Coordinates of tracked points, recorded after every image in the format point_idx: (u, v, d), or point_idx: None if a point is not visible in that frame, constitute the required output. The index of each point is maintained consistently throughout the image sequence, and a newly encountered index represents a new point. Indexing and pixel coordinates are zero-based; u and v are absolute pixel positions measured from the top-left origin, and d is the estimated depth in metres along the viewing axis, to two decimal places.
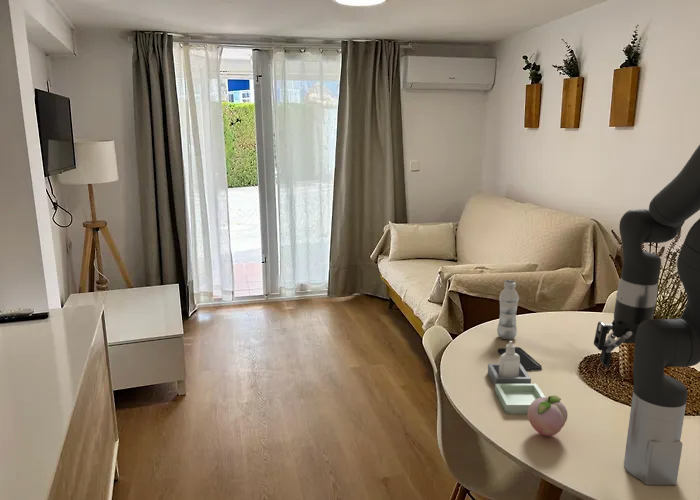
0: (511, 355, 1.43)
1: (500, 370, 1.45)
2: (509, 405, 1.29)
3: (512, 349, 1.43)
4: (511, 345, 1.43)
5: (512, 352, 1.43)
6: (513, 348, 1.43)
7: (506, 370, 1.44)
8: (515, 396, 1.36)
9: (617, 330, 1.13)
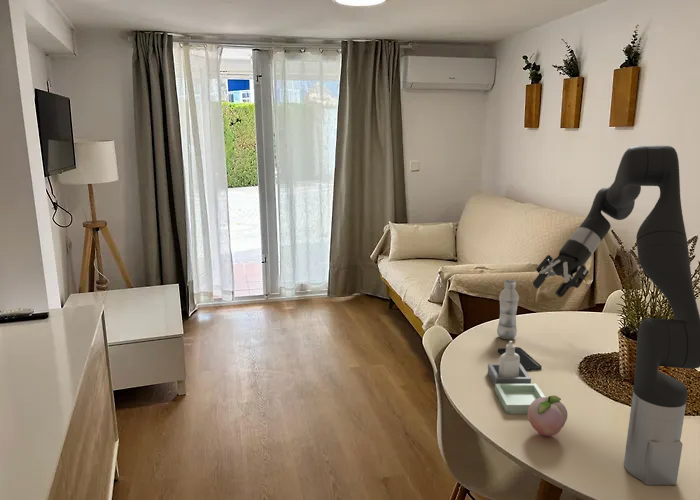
0: (511, 355, 1.43)
1: (500, 370, 1.45)
2: (509, 405, 1.29)
3: (512, 349, 1.43)
4: (511, 345, 1.43)
5: (512, 352, 1.43)
6: (513, 348, 1.43)
7: (506, 370, 1.44)
8: (515, 396, 1.36)
9: (554, 260, 1.49)
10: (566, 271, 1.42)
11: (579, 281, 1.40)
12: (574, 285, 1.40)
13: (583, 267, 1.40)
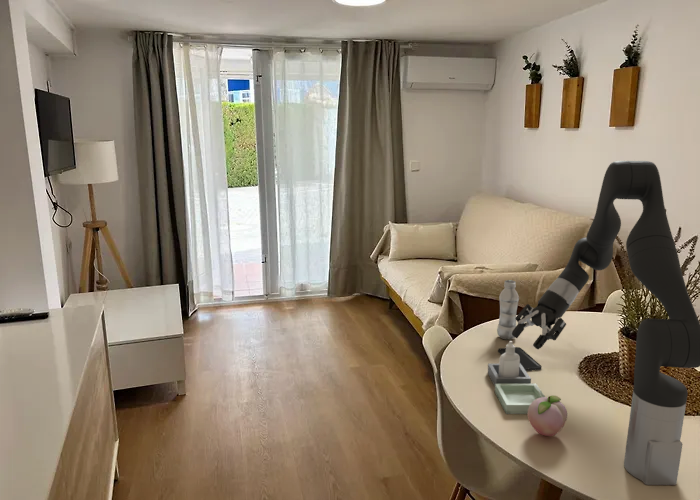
0: (511, 355, 1.43)
1: (500, 370, 1.45)
2: (509, 405, 1.29)
3: (512, 349, 1.43)
4: (511, 345, 1.43)
5: (512, 352, 1.43)
6: (513, 348, 1.43)
7: (506, 370, 1.44)
8: (515, 396, 1.36)
9: (533, 310, 1.50)
10: (544, 323, 1.43)
11: (556, 334, 1.41)
12: (551, 338, 1.41)
13: (560, 320, 1.41)
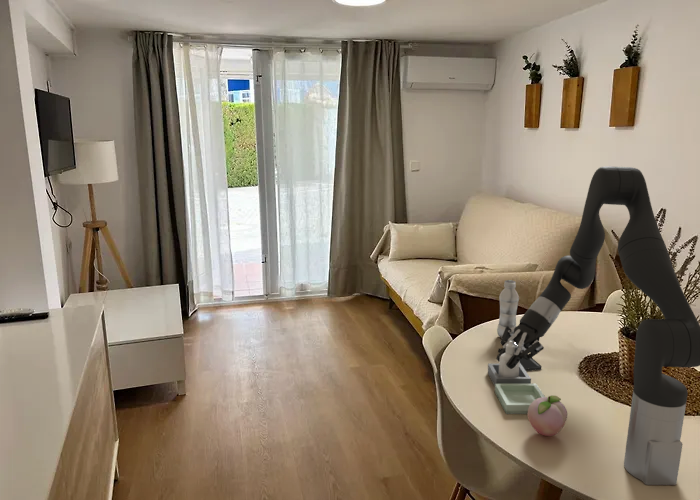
0: (511, 355, 1.43)
1: (500, 370, 1.45)
2: (509, 405, 1.29)
3: (512, 349, 1.43)
4: (511, 345, 1.43)
5: (512, 352, 1.43)
6: (513, 348, 1.43)
7: (505, 370, 1.44)
8: (515, 396, 1.36)
9: (515, 329, 1.48)
10: (521, 343, 1.43)
11: (530, 355, 1.41)
12: (524, 358, 1.41)
13: (537, 344, 1.39)
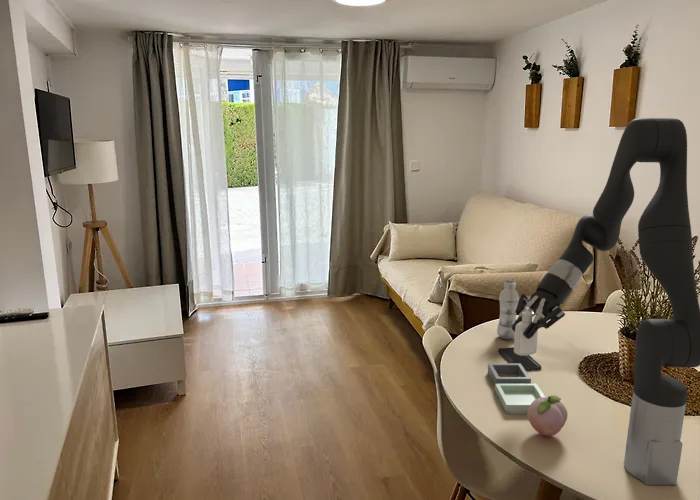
0: (528, 323, 1.29)
1: (516, 341, 1.30)
2: (509, 405, 1.29)
3: (529, 316, 1.29)
4: (528, 312, 1.29)
5: (529, 320, 1.29)
6: (530, 315, 1.29)
7: (522, 340, 1.29)
8: (515, 396, 1.36)
9: (532, 296, 1.34)
10: (539, 310, 1.28)
11: (550, 322, 1.26)
12: (543, 326, 1.26)
13: (558, 310, 1.25)
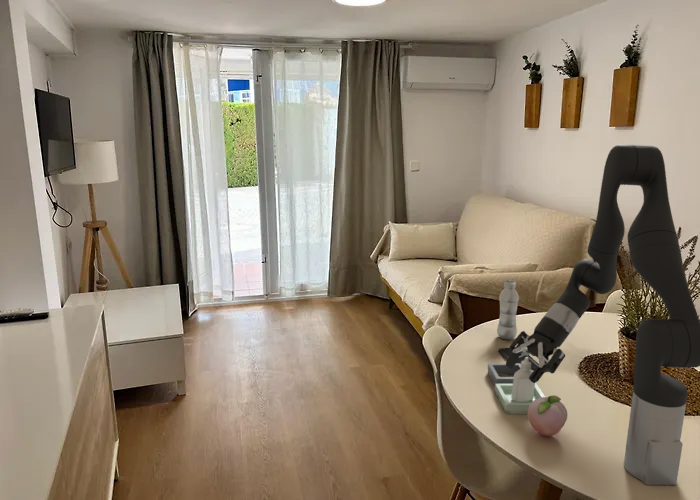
0: (527, 373, 1.31)
1: (514, 388, 1.33)
2: (509, 405, 1.29)
3: (528, 366, 1.31)
4: (527, 362, 1.31)
5: (528, 369, 1.31)
6: (529, 365, 1.31)
7: (520, 389, 1.32)
8: None
9: (529, 338, 1.36)
10: (541, 354, 1.30)
11: (555, 366, 1.27)
12: (549, 371, 1.27)
13: (559, 351, 1.27)
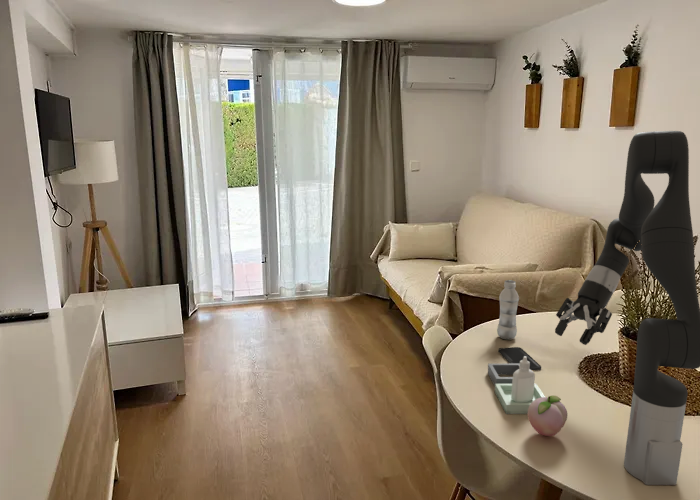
0: (525, 372, 1.32)
1: (513, 388, 1.33)
2: (509, 405, 1.29)
3: (527, 365, 1.31)
4: (525, 361, 1.32)
5: (527, 369, 1.31)
6: (528, 364, 1.31)
7: (520, 388, 1.32)
8: None
9: (574, 303, 1.39)
10: (587, 316, 1.33)
11: (603, 325, 1.30)
12: (598, 330, 1.30)
13: (605, 310, 1.30)
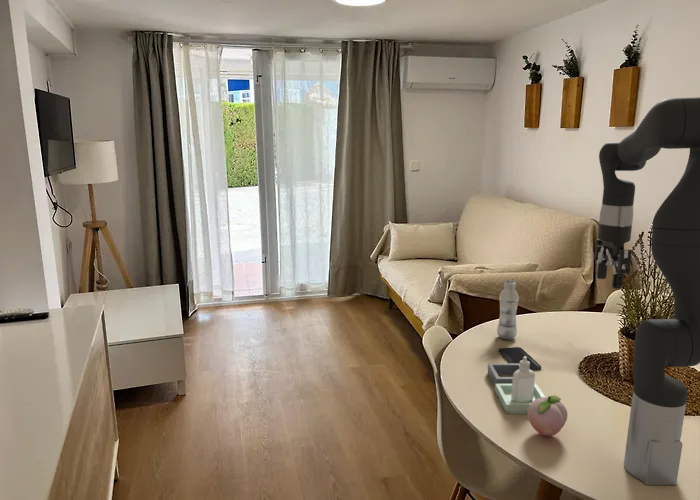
0: (525, 372, 1.32)
1: (513, 388, 1.33)
2: (509, 405, 1.29)
3: (527, 366, 1.31)
4: (525, 361, 1.32)
5: (527, 369, 1.31)
6: (528, 364, 1.31)
7: (520, 388, 1.32)
8: None
9: (602, 245, 1.36)
10: (610, 260, 1.30)
11: (627, 266, 1.27)
12: (623, 273, 1.27)
13: (620, 252, 1.26)
